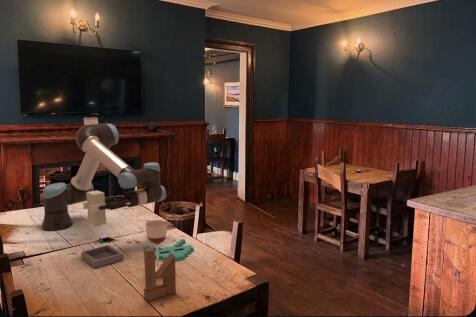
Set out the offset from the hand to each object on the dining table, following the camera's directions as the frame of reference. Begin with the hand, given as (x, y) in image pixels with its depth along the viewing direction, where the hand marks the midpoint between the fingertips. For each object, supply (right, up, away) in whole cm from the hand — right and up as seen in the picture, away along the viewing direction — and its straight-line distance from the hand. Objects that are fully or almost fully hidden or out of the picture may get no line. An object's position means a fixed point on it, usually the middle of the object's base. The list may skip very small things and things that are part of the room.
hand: (87, 207), depth 167 cm
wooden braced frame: (+38, -28, -30) cm, 55 cm away
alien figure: (+34, -22, +9) cm, 42 cm away
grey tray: (+6, -23, +2) cm, 24 cm away
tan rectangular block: (+3, -7, +4) cm, 9 cm away
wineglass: (+33, -25, -10) cm, 42 cm away
